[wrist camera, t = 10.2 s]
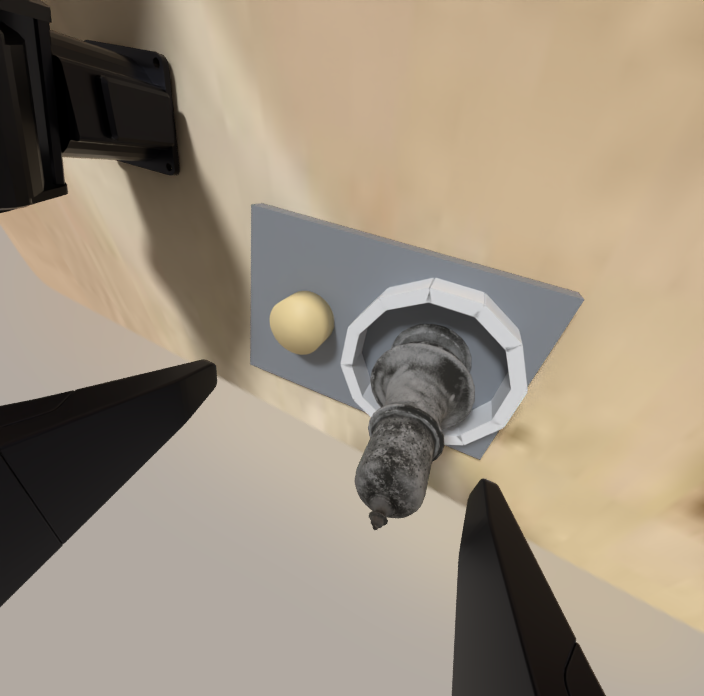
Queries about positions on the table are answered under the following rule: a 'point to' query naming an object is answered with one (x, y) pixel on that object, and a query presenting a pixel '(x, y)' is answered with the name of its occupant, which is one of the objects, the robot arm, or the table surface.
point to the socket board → (393, 315)
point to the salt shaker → (412, 417)
